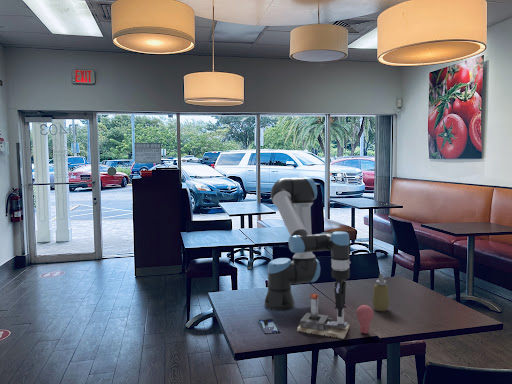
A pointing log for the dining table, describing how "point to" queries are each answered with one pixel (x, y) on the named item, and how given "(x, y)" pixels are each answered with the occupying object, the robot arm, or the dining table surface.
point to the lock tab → (336, 324)
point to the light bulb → (364, 317)
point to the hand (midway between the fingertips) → (340, 323)
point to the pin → (314, 306)
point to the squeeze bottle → (380, 295)
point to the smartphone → (269, 324)
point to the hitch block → (321, 326)
